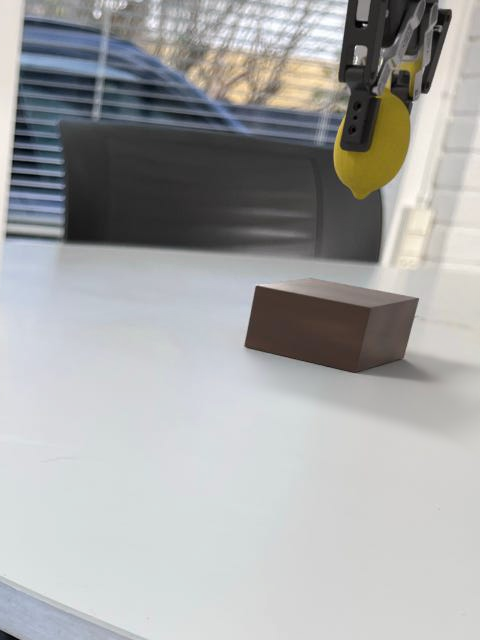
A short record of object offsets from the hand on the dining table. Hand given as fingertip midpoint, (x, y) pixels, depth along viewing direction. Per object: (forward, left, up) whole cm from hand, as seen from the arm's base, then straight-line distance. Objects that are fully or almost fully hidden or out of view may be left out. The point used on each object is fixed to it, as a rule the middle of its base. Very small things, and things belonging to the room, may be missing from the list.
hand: (370, 151), depth 83 cm
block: (0, 0, -16) cm, 16 cm away
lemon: (0, 0, -4) cm, 4 cm away
